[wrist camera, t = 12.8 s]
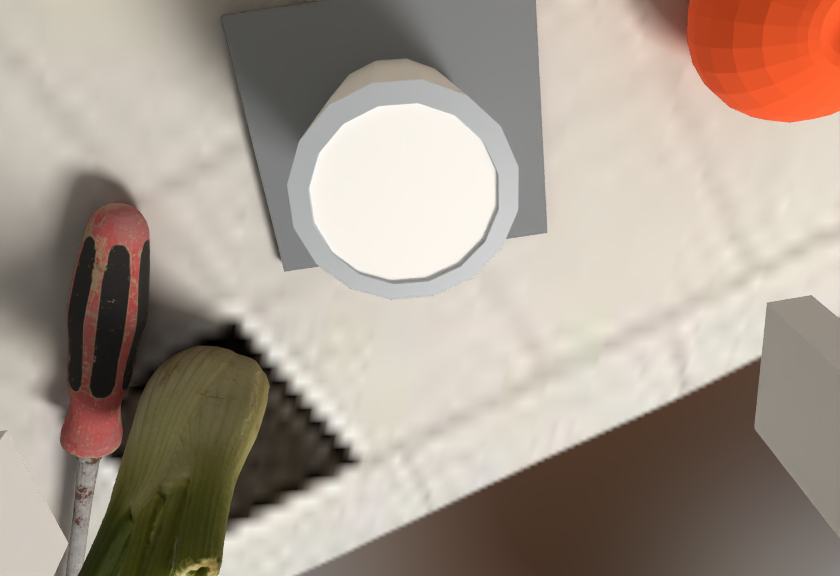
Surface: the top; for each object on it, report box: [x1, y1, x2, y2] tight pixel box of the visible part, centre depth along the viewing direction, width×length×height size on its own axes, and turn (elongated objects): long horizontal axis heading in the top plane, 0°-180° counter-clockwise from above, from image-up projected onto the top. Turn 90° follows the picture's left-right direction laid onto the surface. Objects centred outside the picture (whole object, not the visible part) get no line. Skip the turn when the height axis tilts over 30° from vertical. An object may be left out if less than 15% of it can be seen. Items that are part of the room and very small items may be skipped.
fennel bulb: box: [78, 346, 270, 576], centre depth 27 cm, size 6×5×12 cm
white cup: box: [287, 58, 519, 300], centre depth 24 cm, size 7×7×7 cm
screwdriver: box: [60, 203, 150, 576], centre depth 32 cm, size 25×3×3 cm, turn 163°
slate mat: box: [221, 0, 547, 272], centre depth 27 cm, size 11×10×1 cm
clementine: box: [687, 0, 840, 122], centre depth 23 cm, size 8×7×7 cm
